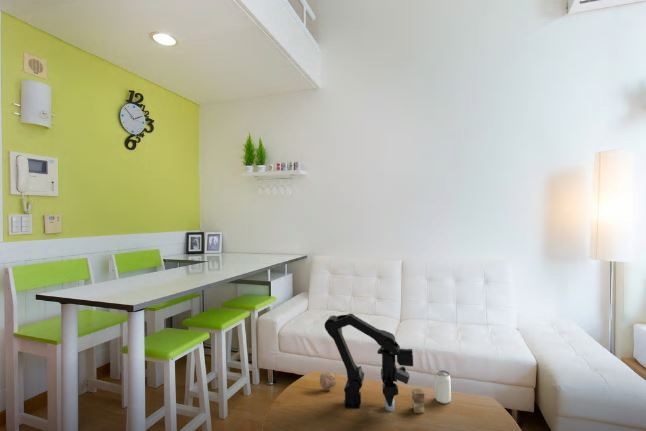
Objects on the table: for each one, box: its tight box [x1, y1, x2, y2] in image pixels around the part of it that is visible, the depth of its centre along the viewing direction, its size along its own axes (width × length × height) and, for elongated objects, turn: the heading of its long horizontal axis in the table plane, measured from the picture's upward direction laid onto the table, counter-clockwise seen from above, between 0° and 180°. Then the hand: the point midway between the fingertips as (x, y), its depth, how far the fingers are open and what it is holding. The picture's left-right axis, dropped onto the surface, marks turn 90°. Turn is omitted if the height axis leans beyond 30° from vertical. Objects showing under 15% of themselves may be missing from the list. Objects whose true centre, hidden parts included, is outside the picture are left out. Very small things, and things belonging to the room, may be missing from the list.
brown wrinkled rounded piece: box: [319, 371, 337, 391], centre depth 162 cm, size 8×6×8 cm
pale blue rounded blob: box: [384, 398, 395, 412], centre depth 145 cm, size 4×4×4 cm
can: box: [434, 369, 452, 405], centre depth 151 cm, size 6×6×12 cm
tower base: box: [412, 399, 425, 414], centre depth 144 cm, size 4×4×4 cm
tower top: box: [411, 388, 426, 404], centre depth 144 cm, size 4×4×4 cm
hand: (389, 400), depth 145 cm, fingers open, 9 cm apart
